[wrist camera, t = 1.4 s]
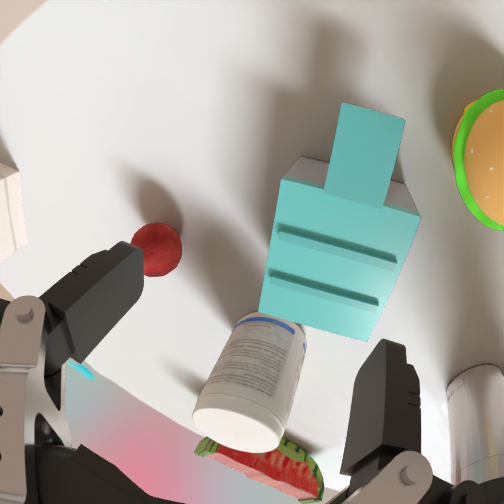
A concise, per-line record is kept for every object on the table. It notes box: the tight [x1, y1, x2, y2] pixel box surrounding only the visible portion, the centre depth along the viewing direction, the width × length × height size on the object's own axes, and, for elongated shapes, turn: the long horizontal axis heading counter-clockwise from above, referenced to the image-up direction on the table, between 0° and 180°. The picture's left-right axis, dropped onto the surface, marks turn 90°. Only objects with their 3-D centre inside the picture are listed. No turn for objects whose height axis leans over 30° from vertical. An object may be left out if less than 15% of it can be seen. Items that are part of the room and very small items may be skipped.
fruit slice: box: [194, 437, 324, 504], centre depth 49 cm, size 26×6×10 cm, turn 57°
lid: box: [258, 102, 421, 342], centre depth 22 cm, size 10×18×3 cm, turn 173°
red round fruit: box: [130, 223, 182, 277], centre depth 33 cm, size 6×6×8 cm
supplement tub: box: [192, 312, 307, 453], centre depth 34 cm, size 10×10×15 cm
